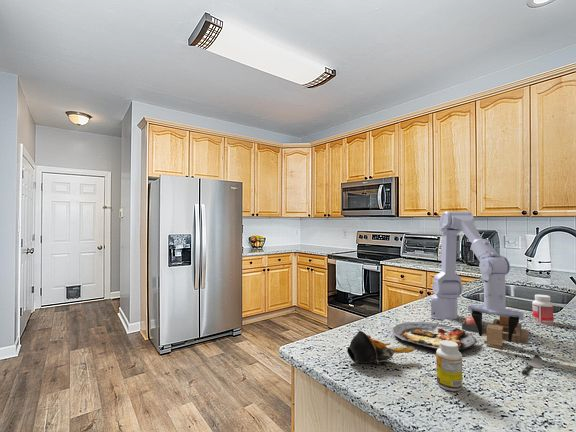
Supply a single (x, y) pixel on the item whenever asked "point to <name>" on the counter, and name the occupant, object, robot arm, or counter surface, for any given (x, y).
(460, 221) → the robot arm
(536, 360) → the kitchen knife
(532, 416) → the counter surface
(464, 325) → the button housing
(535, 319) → the pill bottle
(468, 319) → the button
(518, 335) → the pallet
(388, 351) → the fried shrimp in bowl
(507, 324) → the block
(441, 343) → the supplement bottle
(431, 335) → the food plate
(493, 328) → the block
